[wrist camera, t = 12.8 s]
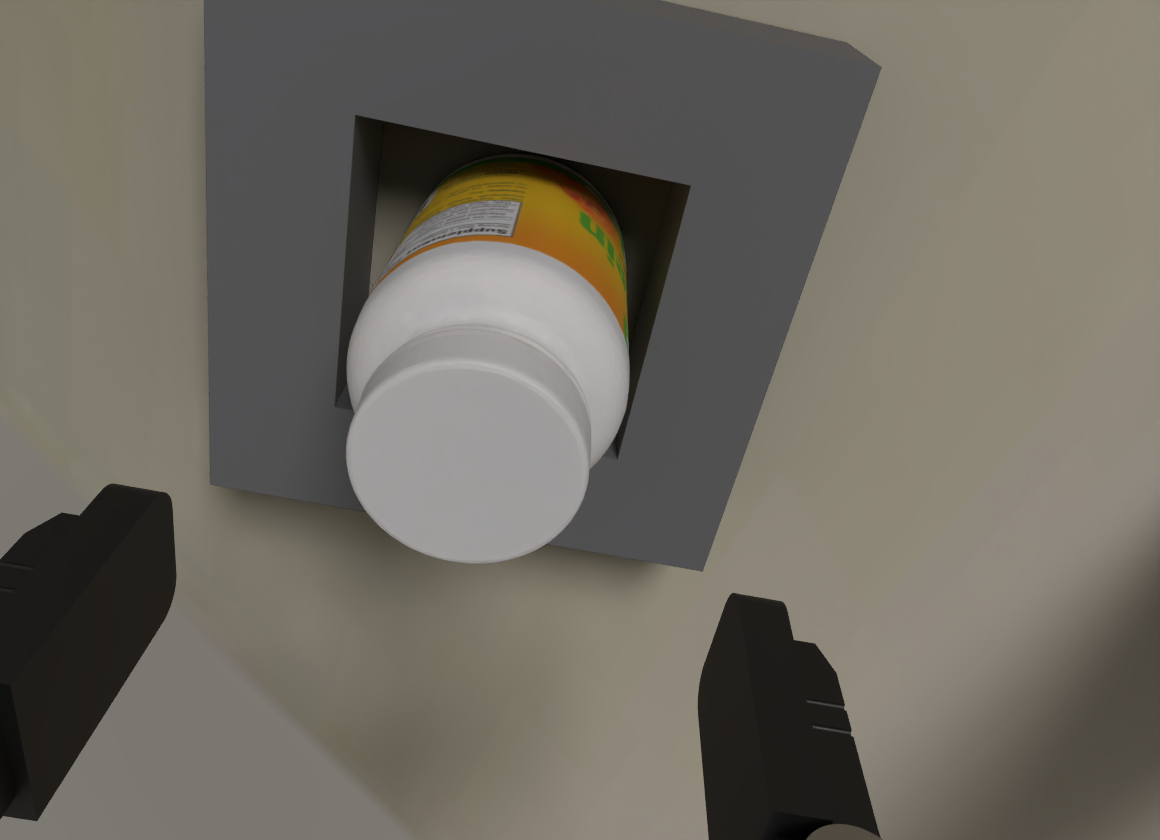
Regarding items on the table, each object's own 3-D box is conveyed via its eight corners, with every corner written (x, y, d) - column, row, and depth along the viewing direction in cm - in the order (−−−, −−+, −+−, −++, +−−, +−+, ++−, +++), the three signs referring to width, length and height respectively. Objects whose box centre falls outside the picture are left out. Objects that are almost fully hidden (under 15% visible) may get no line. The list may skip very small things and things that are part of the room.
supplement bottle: (648, 323, 24) (668, 564, 15) (456, 371, 25) (378, 623, 16) (592, 120, 21) (581, 279, 13) (380, 182, 22) (240, 367, 14)
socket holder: (847, 42, 20) (881, 67, 18) (693, 504, 27) (702, 571, 24) (257, -91, 19) (202, -86, 17) (249, 423, 26) (210, 484, 23)
